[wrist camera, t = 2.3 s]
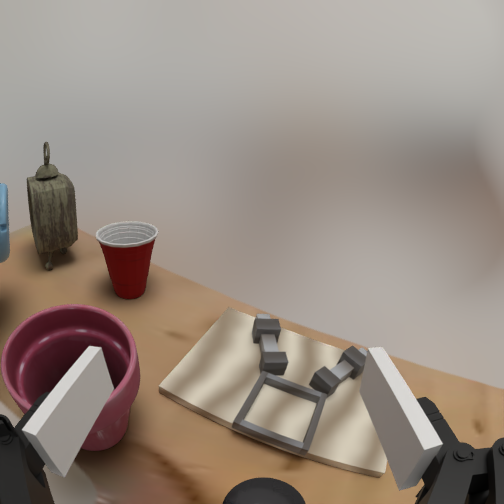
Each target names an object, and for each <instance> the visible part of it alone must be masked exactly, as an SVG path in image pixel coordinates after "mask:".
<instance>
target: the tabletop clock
mask: <svg viewBox="0 0 504 504" xmlns="http://www.w3.org/2000/svg"><path fill="white" fill-rule="evenodd" d="M46 148H47V156H46ZM49 158H50V150H49V144H48V142H45V143H44V165H42V166H40V167H39V169H38V170H37V172H36V175H35V176H34V177H29V178H27V191H28V203H29V212H30V220H31V227H32V233H33V237H34V241H35V244H36V248H37V251H38V253H39V254H42V253H46V252H49V261H48V262H47V263H46V268H47V269H48V270H51V269H52V266H53V265H52V263H51V258H52V254H53V251H54V250H57V249H60V252H61V253H63V254H64V253H66V252H67V249H66V247H69V246H71V245H72V244H73V243H74V242H75V241H76V240H77V239H78V231H77V217H76V202H75V191H74V186H73V184H72V182H71V181H70V179H69V178H68V177H67V176H66V175H64V174H61V173H59V172H58V169H57V168H56V167H55V166H54V165H52V164H49Z"/></svg>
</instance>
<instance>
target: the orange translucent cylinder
mask: <svg viewBox="0 0 504 504" xmlns="http://www.w3.org/2000/svg"><path fill="white" fill-rule="evenodd" d="M223 504H305V501H304V499H303V497H302V496H301V494H300V493H299V492H298V491H297V490H296V489H295V488H294V487H292V486H291V485H289V484H287V483H285V482H283V481H281V480H277V479H273V478H254V479H249V480H246V481H244V482H242V483H240V484H238V485H236V486H235V487H234V488H233V489H232V490H231V491H230V492H229V493H228V494H227V496H226V497H225V499H224V501H223Z"/></svg>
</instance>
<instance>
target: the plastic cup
mask: <svg viewBox="0 0 504 504" xmlns="http://www.w3.org/2000/svg"><path fill="white" fill-rule="evenodd" d="M158 232H159V231H158V229H157V228H156V227H155V226H153V225H151V224H148V223H143V222H134V221H132V222H131V221H127V222H117V223H113V224H109V225H106V226H105V227H102V228H100V229H99V230H98V231H97V232H96V238H97V240H98V241H99V243H100V245H101V248H102V251H103V253H104V257H105V260H106V264H107V268H108V271H109V275H110V278H111V280H112V284H113V287H114V291H115V292H116V294H117V295H118V296H119V297H121V298H124V299H135V298H137V297H140V296H141V295H142V294H143V293H144V291H145V288H146V282H147V276H148V272H149V266H150V260H151V254H152V249H153V245H154V241H155V239H156V237H157V234H158Z"/></svg>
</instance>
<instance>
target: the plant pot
mask: <svg viewBox="0 0 504 504" xmlns="http://www.w3.org/2000/svg"><path fill="white" fill-rule="evenodd" d="M89 346H94V347H101V348H102V352H103V355H104V359H105V362H106V365H107V369H108V372H109V375H110V378H111V381H112V384H113V387H114V390H113V391H112V393H111V395H110V396H109V398H108V400H107V402H106V403H105V405H104V407H103V409H102V410H101V412H100V414H99V416H98V417H97V419H96V421H95V423H94V424H93V426H92V428H91V430H90V432H89V433H88V435H87V437H86V439H85V441H84V442H83V444H82V446H81V448H82V449H85V450H90V451H100V450H105V449H108V448H110V447H112V446H114V445H115V444H117V443H118V442H119V441H120V440H121V439H122V437H123V436H124V434H125V432H126V429H127V425H128V418H129V413H130V407H131V405H132V403H133V402H134V400H135V398H136V395H137V392H138V389H139V385H140V368H139V361H138V355H137V350H136V345H135V341H134V339H133V336H132V334H131V333H130V331H129V329H128V328H127V327H126V326H125V324H124V323H123V322H122V321H121V320H119V319H118V318H117V317H115V316H114V315H112V314H111V313H109V312H107V311H105V310H102V309H100V308H97V307H93V306H89V305H81V304H68V305H60V306H55V307H51V308H48V309H45V310H42V311H40V312H38V313H36V314H34V315H32V316H30V317H29V318H27V319H26V320H25V321H23V322H22V323H21V324H20V325H19V326H18V327H17V328H16V329H15V330H14V331H13V332H12V334H11V335H10V337H9V338H8V340H7V342H6V344H5V346H4V349H3V352H2V358H1V372H2V377H3V380H4V382H5V385H6V387H7V389H8V391H9V392H10V394H11V396H12V398H13V399H14V401H15V402H16V403H17V405H18V406H19V408H20V409H21V410H22V412H23V413H24V414H26V412H27V411H29V409H30V407H31V406H32V405H33V404H34V402H35V401H36V400H37V399H38V397H40V396H41V395H43V394H44V393H46V392H50V393H51V391H52V390H53V389H54V388H55V386H56V385H57V384H58V383H59V381H60V380H61V379H62V378H63V376H64V375H65V374H66V373H67V372H68V370H69V369H70V368H71V367H72V366H73V364H74V363H75V362H76V361H77V360H78V358H79V357H80V356H81V355H82V354H83V353H84V351H85V350H86V349H87V348H88V347H89Z"/></svg>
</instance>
